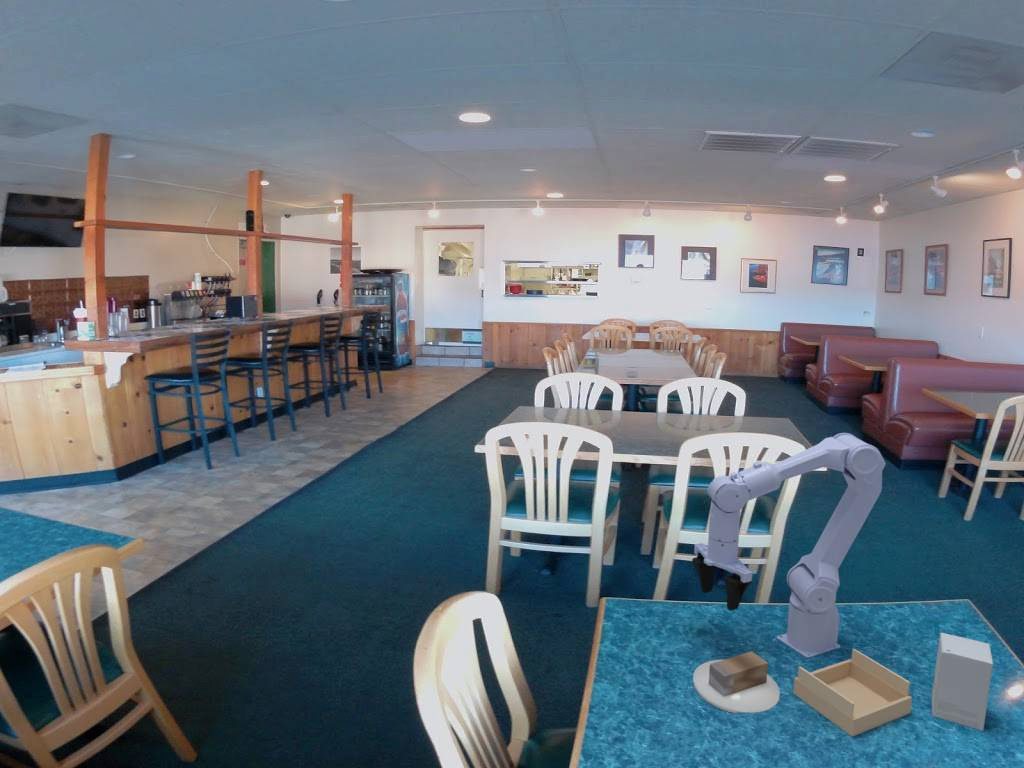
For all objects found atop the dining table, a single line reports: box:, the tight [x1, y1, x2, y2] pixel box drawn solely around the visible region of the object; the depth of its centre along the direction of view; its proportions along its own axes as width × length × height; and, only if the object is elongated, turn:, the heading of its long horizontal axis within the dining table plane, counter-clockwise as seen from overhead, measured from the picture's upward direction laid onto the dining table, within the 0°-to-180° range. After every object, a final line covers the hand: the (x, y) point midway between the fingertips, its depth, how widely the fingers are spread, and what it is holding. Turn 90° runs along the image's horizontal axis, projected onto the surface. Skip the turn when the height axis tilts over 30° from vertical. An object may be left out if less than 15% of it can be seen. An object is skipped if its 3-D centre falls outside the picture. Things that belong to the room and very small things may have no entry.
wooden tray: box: [792, 648, 913, 737], centre depth 116 cm, size 14×12×6 cm
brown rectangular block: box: [709, 650, 769, 697], centre depth 121 cm, size 10×4×4 cm, turn 114°
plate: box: [692, 659, 781, 715], centre depth 121 cm, size 15×15×1 cm
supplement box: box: [931, 632, 994, 731], centre depth 113 cm, size 7×7×13 cm
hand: (719, 600), depth 134 cm, fingers open, 7 cm apart
